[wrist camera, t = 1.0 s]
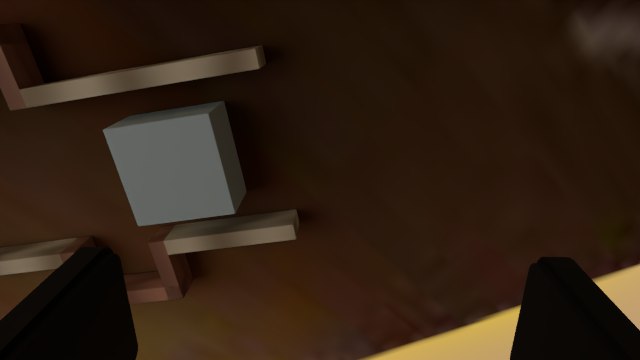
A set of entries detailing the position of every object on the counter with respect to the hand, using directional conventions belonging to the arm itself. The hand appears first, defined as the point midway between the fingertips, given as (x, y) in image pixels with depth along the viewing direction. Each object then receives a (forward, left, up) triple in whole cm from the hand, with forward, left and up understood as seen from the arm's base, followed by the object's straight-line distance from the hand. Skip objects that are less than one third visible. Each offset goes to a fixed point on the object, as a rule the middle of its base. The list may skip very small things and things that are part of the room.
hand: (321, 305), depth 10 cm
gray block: (+11, +2, -21) cm, 24 cm away
